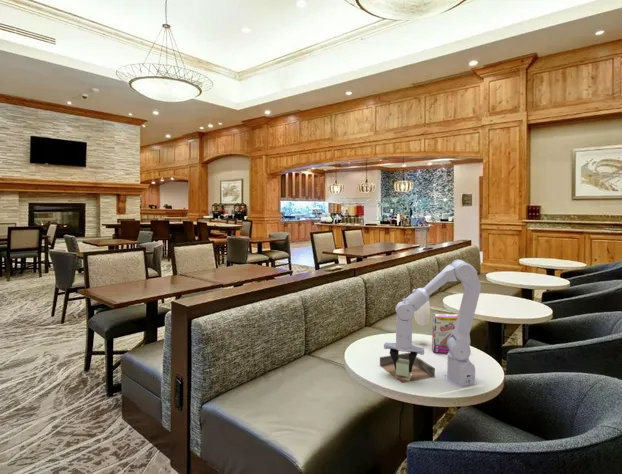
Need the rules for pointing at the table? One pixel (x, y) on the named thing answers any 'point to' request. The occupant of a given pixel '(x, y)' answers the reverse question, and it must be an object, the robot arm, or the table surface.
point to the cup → (422, 314)
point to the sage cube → (402, 367)
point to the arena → (418, 370)
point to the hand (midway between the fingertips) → (403, 370)
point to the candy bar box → (442, 331)
